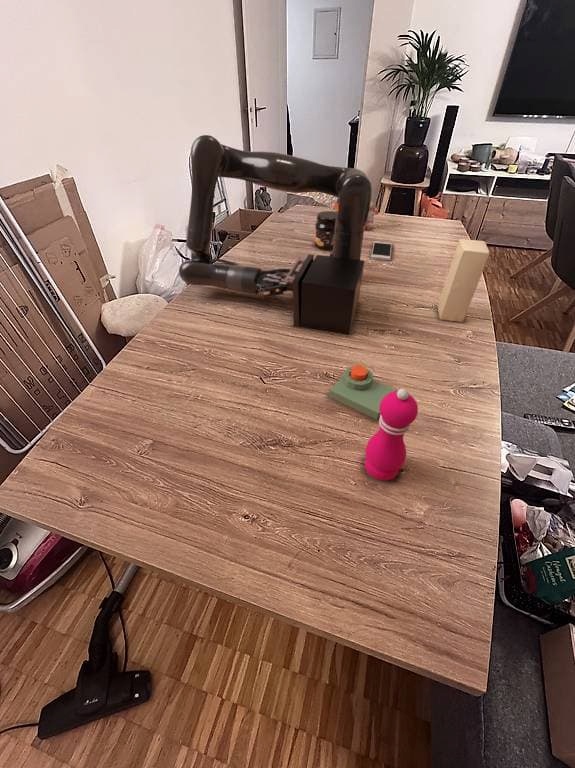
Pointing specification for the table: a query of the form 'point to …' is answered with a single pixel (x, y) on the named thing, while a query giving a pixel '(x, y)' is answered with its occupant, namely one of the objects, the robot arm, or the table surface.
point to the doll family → (370, 215)
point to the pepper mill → (390, 435)
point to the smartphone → (381, 250)
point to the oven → (331, 294)
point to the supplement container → (325, 230)
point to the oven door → (298, 284)
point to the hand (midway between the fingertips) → (300, 287)
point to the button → (358, 373)
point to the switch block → (360, 393)
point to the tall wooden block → (462, 279)
